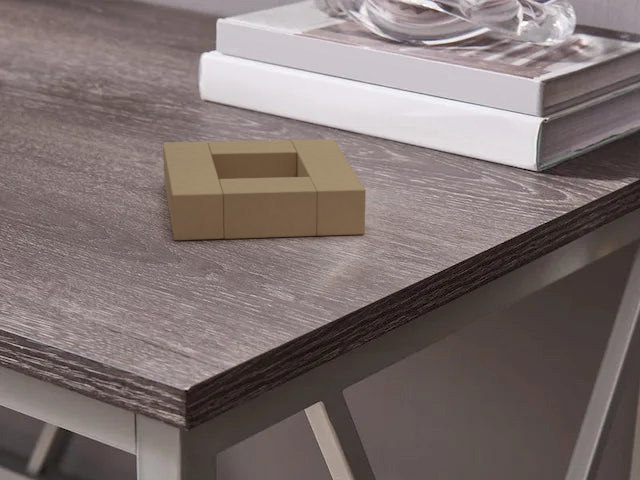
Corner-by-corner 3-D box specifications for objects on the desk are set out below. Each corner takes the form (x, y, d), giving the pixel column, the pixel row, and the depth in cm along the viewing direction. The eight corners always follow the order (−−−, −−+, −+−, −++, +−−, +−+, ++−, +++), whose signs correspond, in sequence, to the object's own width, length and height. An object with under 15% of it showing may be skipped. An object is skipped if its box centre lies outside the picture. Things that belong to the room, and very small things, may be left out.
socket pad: (174, 241, 67) (172, 194, 66) (164, 183, 76) (162, 141, 75) (364, 234, 69) (365, 189, 68) (333, 179, 78) (334, 138, 77)
